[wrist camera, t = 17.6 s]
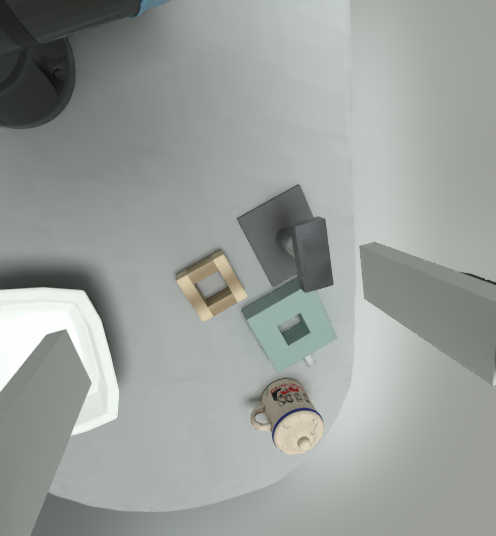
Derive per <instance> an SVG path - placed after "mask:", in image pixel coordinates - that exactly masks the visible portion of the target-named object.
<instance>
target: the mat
mask: <svg viewBox="0 0 496 536" xmlns="http://www.w3.org/2000/svg"><path fill="white" fill-rule="evenodd" d="M311 218H313V215H312V213H311V211H310V208H309V206H308V203H307V201H306V199H305V196H304V194H303V192H302V189H301V187H300V185H297V186H295V187H293V188H291V189H290V190H288V191H286V192H284V193H282V194H281V195H279V196H277V197H275V198H273V199H272V200H270V201H268V202H266V203H264V204H263V205H261V206H259V207H257V208H256V209H254V210H252V211H250V212H248V213H247V214H245V215H243V216H241V217H239V218H238V219H237V220H238V222H239V223H240V225H241V227H242V229H243V231H244V233H245V235H246V237H247V239H248V241H249V243H250V244H251V246H252V248H253V250H254V252H255V254H256V256H257V258H258V260H259V262H260V264H261V265H262V267H263V269H264V271H265V273H266V275H267V277H268V279H269V281H270V283H271V285H272V286H273V287H274V286H276V285H278V284H279V283H281V282H283V281H285V280H286V279H288V278H290V277H291V276H293V275H295V274H297V268H296V262H295V258H294V257H293V256H292V255H290V254H289V253H288V252H286V251H285V250H284V249H282V248H281V247H280V246H279V245H278V244H277V242H276V236H277V234H278V232H279V231H280V230H282V229H285V228H287V229H290V226H289V224H292V223H296V222H299V221H303V220H307V219H311Z"/></svg>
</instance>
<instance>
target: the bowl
mask: <svg viewBox="0 0 496 536" xmlns="http://www.w3.org/2000/svg"><path fill="white" fill-rule="evenodd" d="M64 329H67V332H68V334H69V336H70V338H71V340H72V342H73V344H74V346H75V348H76V351H77V353H78V355H79V357H80V359H81V361H82V363H83V365H84V367H85V369H86V372H87V374H88V376H89V378H90V380H91V382H92V384H91V386H90V389H89V391H88V394H87V396H86V399H85V401H84V404H83V406H82V408H81V411H80V413H79V416H78V418H77V421H76V423H75V426H74V428H73V431H72V433H71V436H72V435H75V434H79V433H82V432H86V431H89V430H91V429H93V428H95V427H98V426H100V425H102V424H105V423H107V422H109V421H112V420H114V419H116V418H117V414H118V400H119V388H118V384H117V379H116V375H115V371H114V367H113V362H112V358H111V354H110V350H109V347H108V343H107V339H106V336H105V332H104V328H103V324H102V321H101V318H100V317H99V315H98V313H97V311H96V310H95V308H94V306H93V305H92V303H91V301H90V299H89V298H88V296H87V294H86V293H85V291H83V290H76V289H62V288H49V287H37V288H21V289H4V290H0V392H1V390H2V389H3V388H4V387H5V385H6V384H7V383H8V382H9V380H10V379H11V378H12V377H13V375H14V374H15V373H16V372H17V370H18V369H19V368H20V367H21V365H22V364H23V363H24V362H25V360H26V359H27V358H28V357H29V355H30V354H31V353H32V352H33V350H34V349H35V348H36V347H37V345H38V344H39V343H40V342H41V341H42V339H43V338H44V337H45V336H46V334H49V333H53V332H57V331H60V330H64Z"/></svg>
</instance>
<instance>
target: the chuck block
mask: <svg viewBox="0 0 496 536" xmlns="http://www.w3.org/2000/svg"><path fill="white" fill-rule="evenodd" d="M242 312H243V314H244V316H245V318H246V320H247V322H248V324H249V325H250V327H251V329H252V330H253V332H254V334H255V335H256V337H257V339H258V340H259V342H260V344H261V346H262V347H263V349H264V351H265V352H266V354H267V356H268V357H269V359H270V361H271V362H272V364H273V366H274V368H275V369H276V371H277V373H279V372H281V371H283V370H284V369H286V368H288V367H289V366H291V365H293V364H295V363H296V362H298V361H300V360H301V359H304V361H305V362H306V364H307V366H308V367H313V366H314V365H315V361H314V359H313V357H312V355H311V354H312V353H313V352H315V351H317V350H318V349H320V348H322V347H323V346H325V345H327V344H329V343H330V342H332V341H334V340H335V339H337V336H336V333H335V331H334V329H333V327H332V325H331V323H330V320H329V318H328V316H327V314H326V312H325V310H324V308H323V305H322V303H321V301H320V299H319V297H318V295H317V292H316V290H315V291H311V292H308V293H305V292H304V291H303V290H302V289H301V288H300V286H299V280H298V278H296V279H294V280H292V281H291V282H289V283H287V284H285V285H284V286H282V287H280V288H279V289H277V290H275V291H273V292H272V293H270V294H268V295H266V296H265V297H263V298H261V299H259V300H258V301H256V302H254V303H252V304H251V305H249V306H247V307H245V308H244V309H242ZM296 315H298V316H299V318H300V320H301V323H299V324H297V325H296V326H294V327H292V328H291V329H289V330H287V331H285V332H284V333H282V334H281V332H280V330H279V328H278V327H277V326H279V325H280V324H282V323H284V322H286V321H287V320H289V319H291V318H292V317H294V316H296Z"/></svg>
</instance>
